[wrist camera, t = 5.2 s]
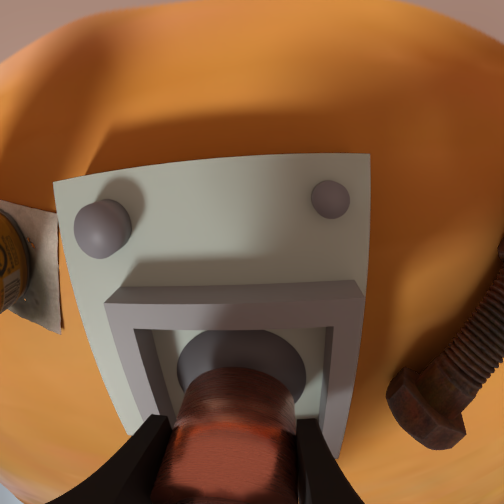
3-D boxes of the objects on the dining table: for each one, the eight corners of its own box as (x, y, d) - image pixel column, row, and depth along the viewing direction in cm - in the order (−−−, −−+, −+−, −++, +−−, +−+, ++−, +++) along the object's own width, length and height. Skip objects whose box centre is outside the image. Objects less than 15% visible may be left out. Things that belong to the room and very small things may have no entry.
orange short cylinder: (302, 432, 12) (307, 562, 6) (206, 442, 12) (179, 559, 6) (282, 357, 11) (282, 525, 5) (168, 373, 11) (109, 511, 5)
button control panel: (336, 410, 16) (346, 462, 12) (140, 406, 17) (119, 452, 13) (351, 153, 12) (385, 154, 8) (83, 175, 13) (29, 187, 9)
